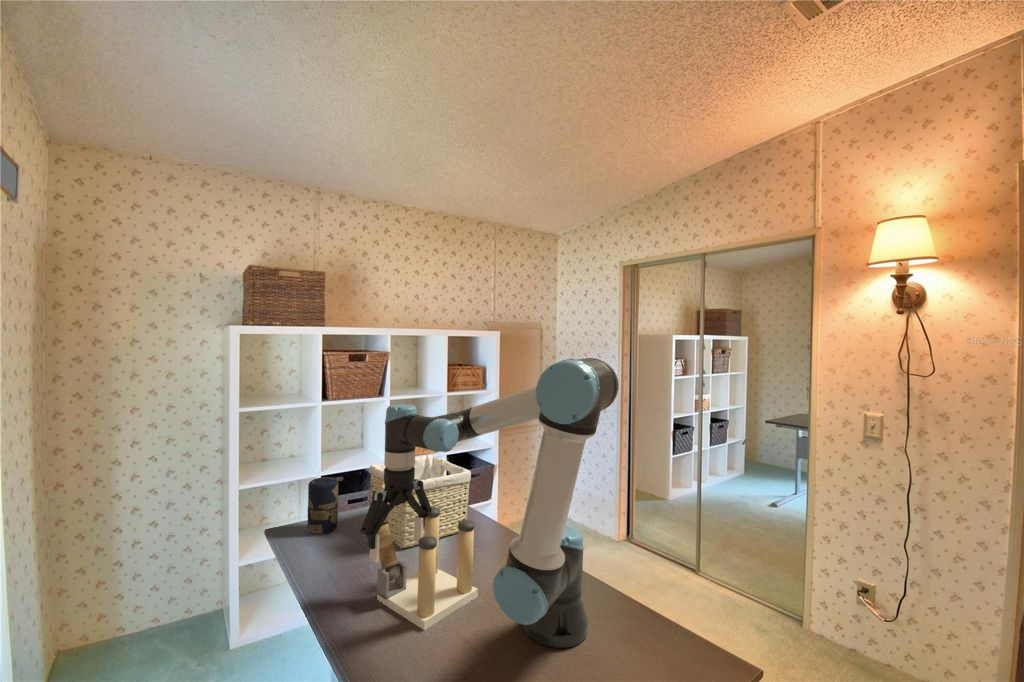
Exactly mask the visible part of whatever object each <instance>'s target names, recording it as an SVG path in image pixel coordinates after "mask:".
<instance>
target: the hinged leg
mask: <svg viewBox="0 0 1024 682" xmlns="http://www.w3.org/2000/svg"><path fill="white" fill-rule="evenodd" d="M373 530H374V529H373ZM377 534H379V535H380V542H379V563H380V565H381V569H382V570H384V571H386V572H387V573H389V582H391V581H395V579H396V578H398V577H400V576H401V575H402V570H401V568H400V567H399V566H396V564H397V563H398V561H399V560H398V558H397V554H396V549H395V545H394V542H393V541H392V537H391V534H390V530H389V526H388V520H387V519H385V521H384V522H383V524H382V526H381V528H380V529H379V531H378V533H377Z"/></svg>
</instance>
